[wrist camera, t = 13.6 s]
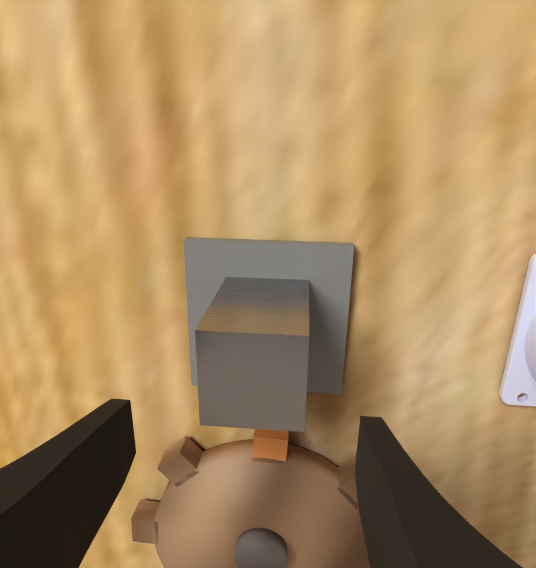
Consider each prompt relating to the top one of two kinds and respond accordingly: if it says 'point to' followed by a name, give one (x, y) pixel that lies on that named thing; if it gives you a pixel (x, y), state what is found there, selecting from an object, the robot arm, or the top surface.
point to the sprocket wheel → (253, 508)
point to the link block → (254, 355)
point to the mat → (280, 265)
